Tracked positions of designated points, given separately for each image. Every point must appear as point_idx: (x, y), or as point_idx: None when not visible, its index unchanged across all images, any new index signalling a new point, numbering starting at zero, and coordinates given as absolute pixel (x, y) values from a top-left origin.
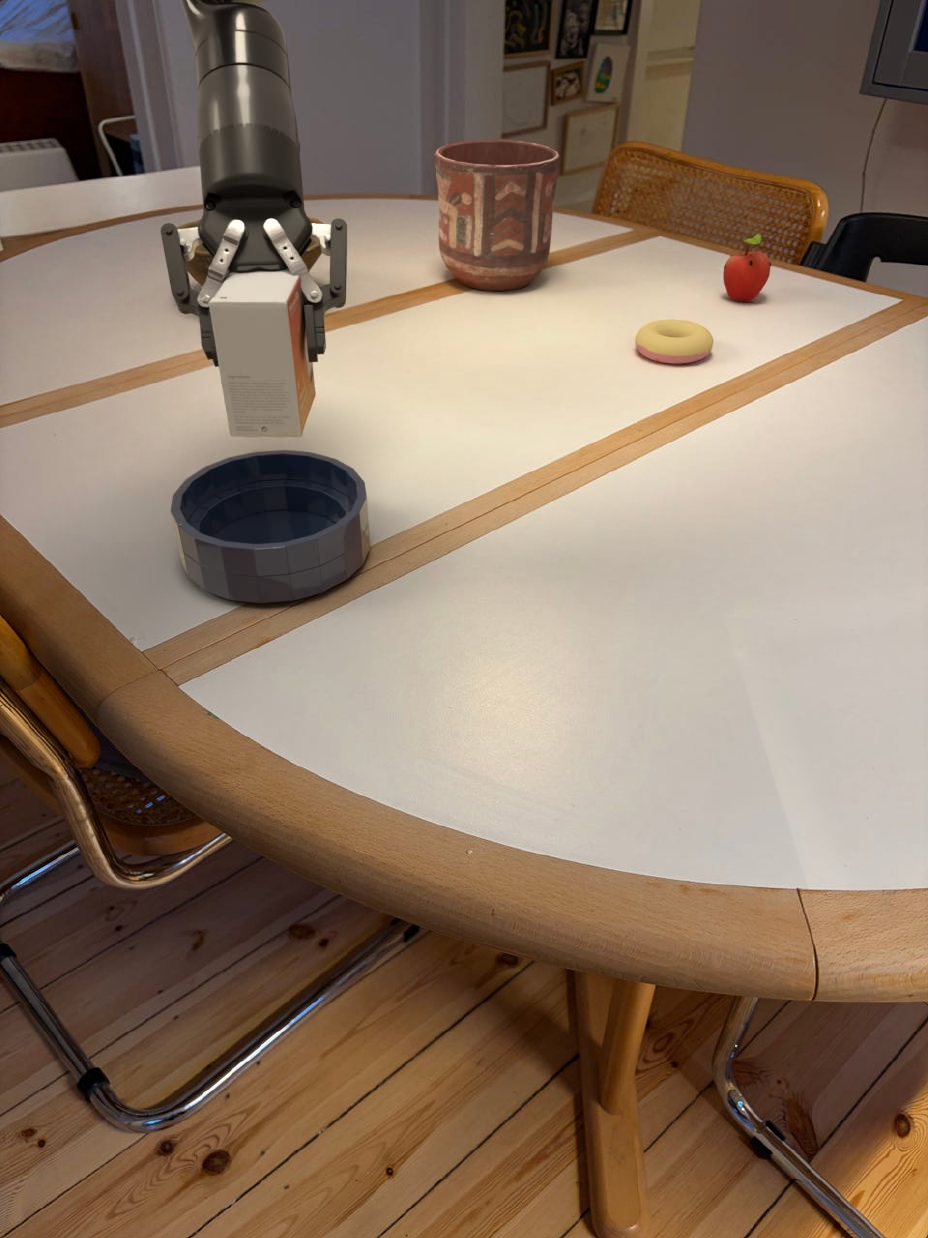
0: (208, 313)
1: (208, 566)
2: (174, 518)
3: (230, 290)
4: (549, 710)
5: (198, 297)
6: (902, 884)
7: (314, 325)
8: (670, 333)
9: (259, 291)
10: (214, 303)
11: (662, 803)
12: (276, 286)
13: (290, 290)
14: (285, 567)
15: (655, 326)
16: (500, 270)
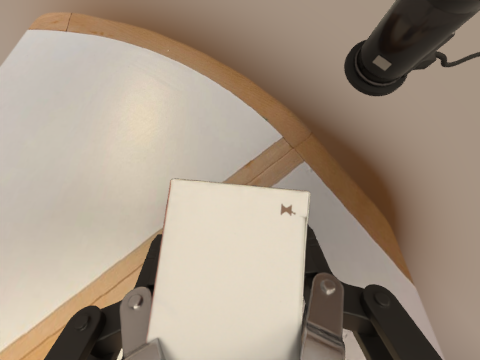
0: (315, 264)
1: None
2: (307, 224)
3: (279, 249)
4: (125, 113)
5: (342, 289)
6: (31, 31)
7: (157, 252)
8: None
9: (222, 235)
10: (299, 190)
11: (96, 65)
12: (190, 262)
13: (164, 243)
14: None
15: None
16: None
